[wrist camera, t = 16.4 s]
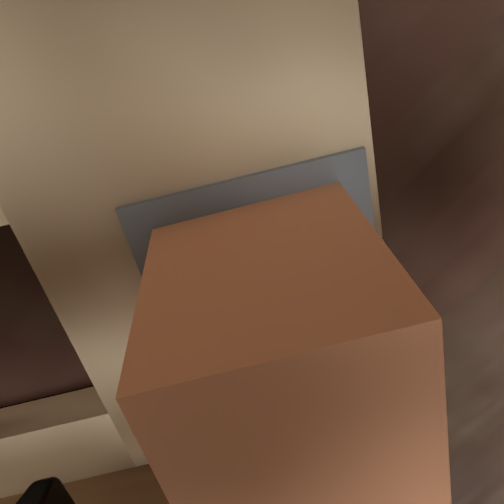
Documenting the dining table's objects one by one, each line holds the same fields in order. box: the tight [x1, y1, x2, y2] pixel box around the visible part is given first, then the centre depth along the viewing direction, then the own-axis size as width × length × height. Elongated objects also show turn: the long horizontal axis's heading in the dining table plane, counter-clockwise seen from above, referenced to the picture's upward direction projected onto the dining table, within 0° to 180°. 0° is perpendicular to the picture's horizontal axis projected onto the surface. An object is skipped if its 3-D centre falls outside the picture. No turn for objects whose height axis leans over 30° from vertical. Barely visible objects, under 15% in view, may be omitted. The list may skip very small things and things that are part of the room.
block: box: [115, 182, 451, 504], centre depth 11 cm, size 5×5×6 cm
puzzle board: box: [0, 0, 383, 504], centre depth 12 cm, size 18×19×6 cm
